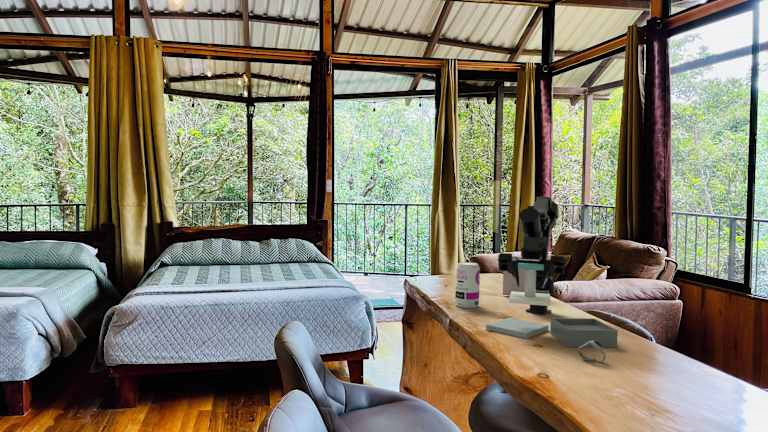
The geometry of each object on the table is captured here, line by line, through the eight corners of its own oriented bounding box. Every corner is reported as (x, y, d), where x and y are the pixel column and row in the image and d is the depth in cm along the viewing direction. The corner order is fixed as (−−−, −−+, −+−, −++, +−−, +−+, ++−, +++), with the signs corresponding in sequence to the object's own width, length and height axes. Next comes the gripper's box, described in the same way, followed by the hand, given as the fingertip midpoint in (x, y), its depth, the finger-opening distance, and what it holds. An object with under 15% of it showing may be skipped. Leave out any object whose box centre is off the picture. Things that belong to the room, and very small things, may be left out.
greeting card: (532, 295, 208) (533, 257, 208) (526, 298, 202) (527, 259, 201) (504, 292, 214) (505, 255, 214) (497, 295, 208) (498, 257, 208)
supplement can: (480, 304, 190) (481, 262, 190) (476, 309, 182) (477, 265, 182) (457, 302, 193) (458, 261, 192) (453, 307, 185) (454, 264, 184)
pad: (508, 322, 165) (508, 317, 165) (548, 330, 156) (548, 325, 156) (485, 329, 155) (486, 324, 155) (526, 338, 146) (526, 333, 146)
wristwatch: (604, 365, 125) (605, 344, 124) (576, 360, 128) (577, 340, 128) (606, 361, 128) (607, 340, 127) (579, 356, 131) (580, 336, 131)
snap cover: (511, 295, 159) (512, 260, 159) (549, 298, 156) (550, 262, 156) (508, 302, 149) (509, 265, 148) (550, 306, 146) (551, 267, 145)
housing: (550, 334, 152) (550, 318, 151) (594, 334, 152) (595, 318, 152) (568, 347, 139) (568, 330, 138) (617, 347, 139) (617, 330, 139)
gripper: (499, 225, 158) (495, 268, 148) (565, 227, 152) (566, 272, 143) (500, 249, 166) (496, 291, 156) (564, 252, 160) (564, 295, 150)
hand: (530, 287), depth 151 cm, fingers closed on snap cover, 6 cm apart
